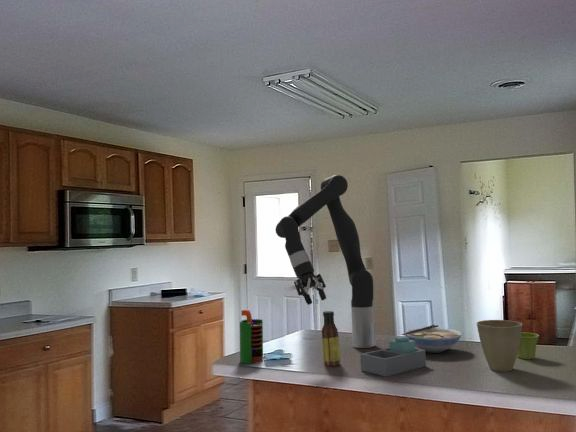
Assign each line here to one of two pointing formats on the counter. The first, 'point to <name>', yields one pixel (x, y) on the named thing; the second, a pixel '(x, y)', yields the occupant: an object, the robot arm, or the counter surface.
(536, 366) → the counter surface
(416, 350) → the box
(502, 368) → the plant pot
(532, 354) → the plant pot
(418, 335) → the ramen bowl
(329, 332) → the sauce bottle
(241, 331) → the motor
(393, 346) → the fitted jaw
